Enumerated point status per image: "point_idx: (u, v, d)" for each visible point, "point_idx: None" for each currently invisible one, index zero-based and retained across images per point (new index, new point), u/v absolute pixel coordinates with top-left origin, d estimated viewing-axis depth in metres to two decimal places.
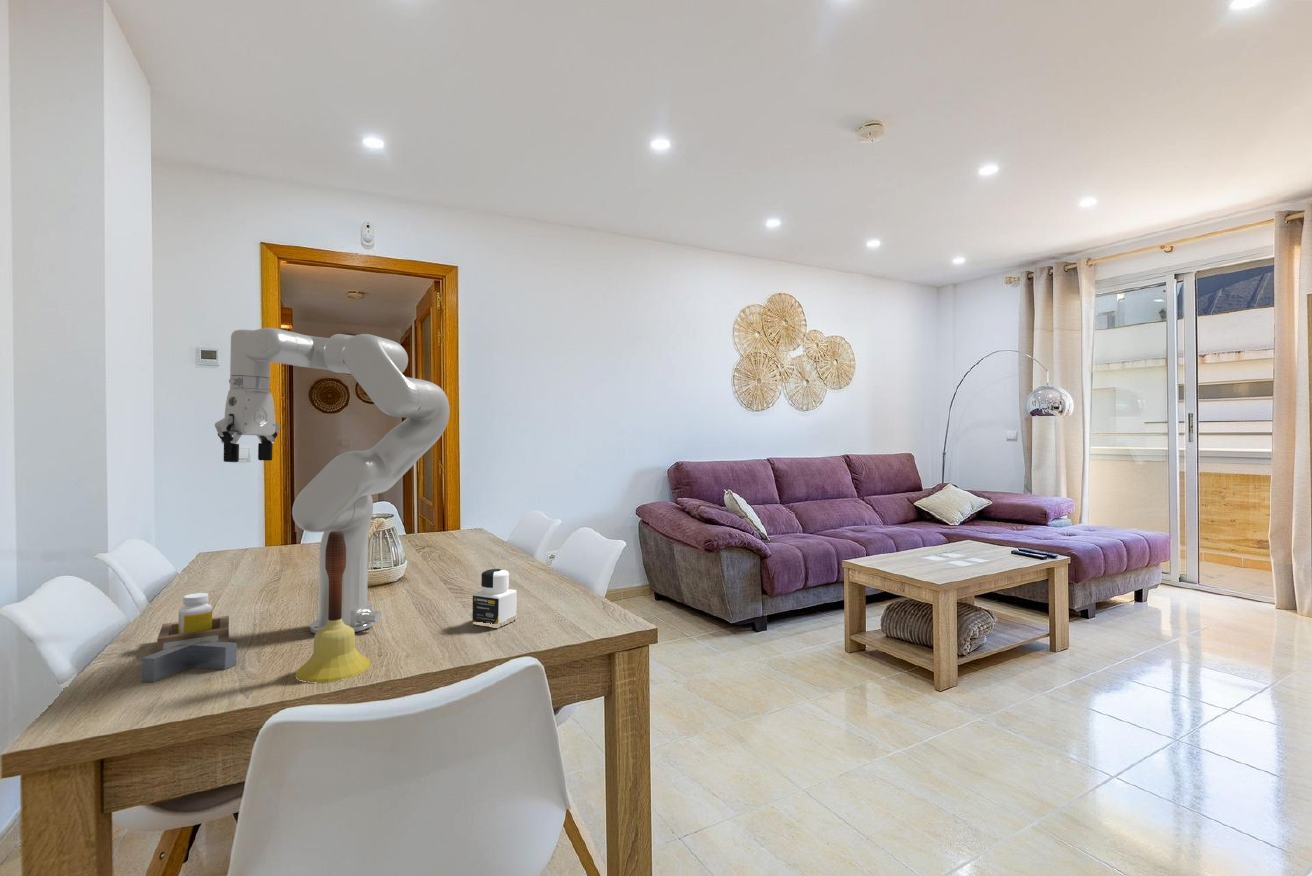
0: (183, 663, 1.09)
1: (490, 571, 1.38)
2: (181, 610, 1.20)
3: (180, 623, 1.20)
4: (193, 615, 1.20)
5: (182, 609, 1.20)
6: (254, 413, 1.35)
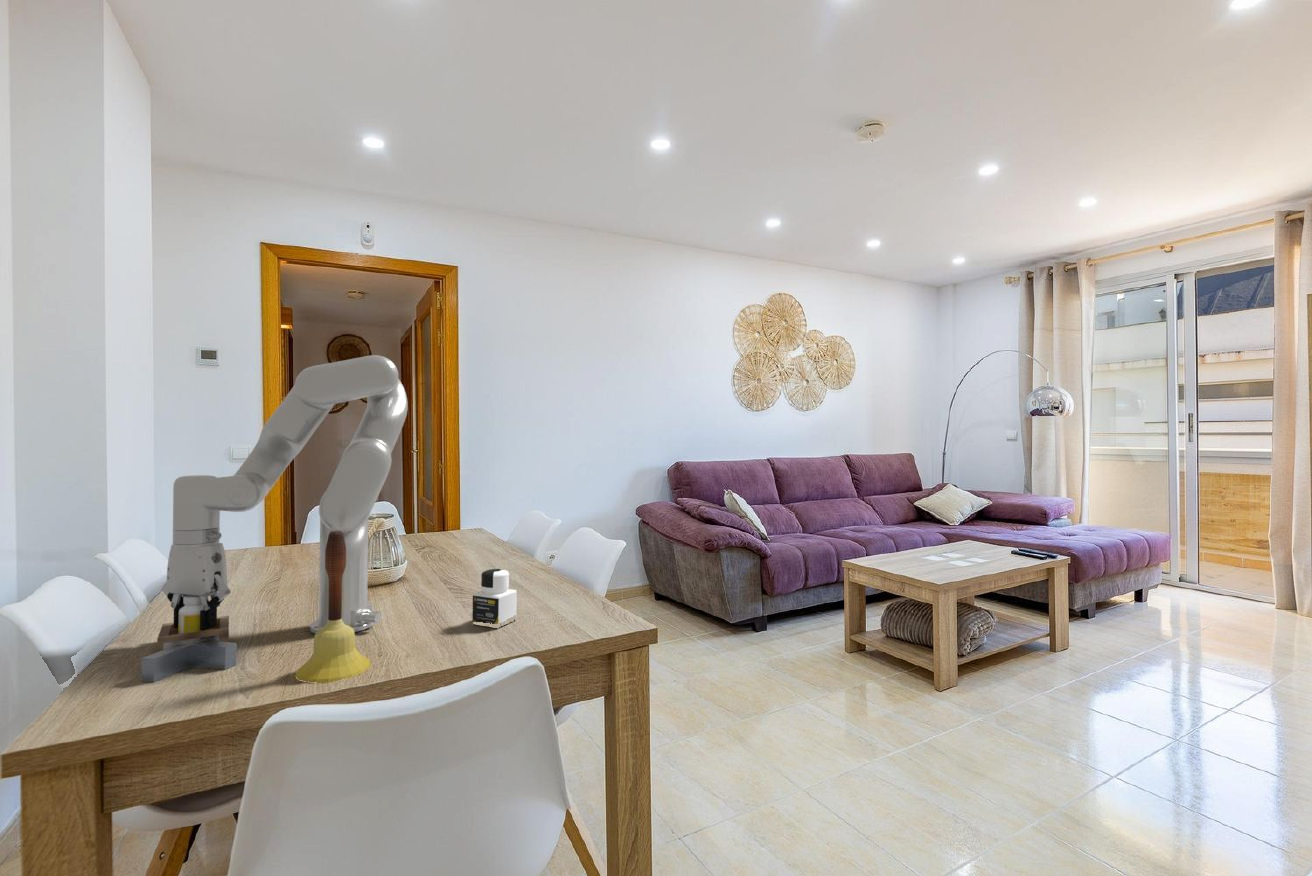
0: (183, 663, 1.09)
1: (490, 571, 1.38)
2: (181, 610, 1.20)
3: (180, 623, 1.20)
4: (193, 615, 1.20)
5: (182, 609, 1.20)
6: None
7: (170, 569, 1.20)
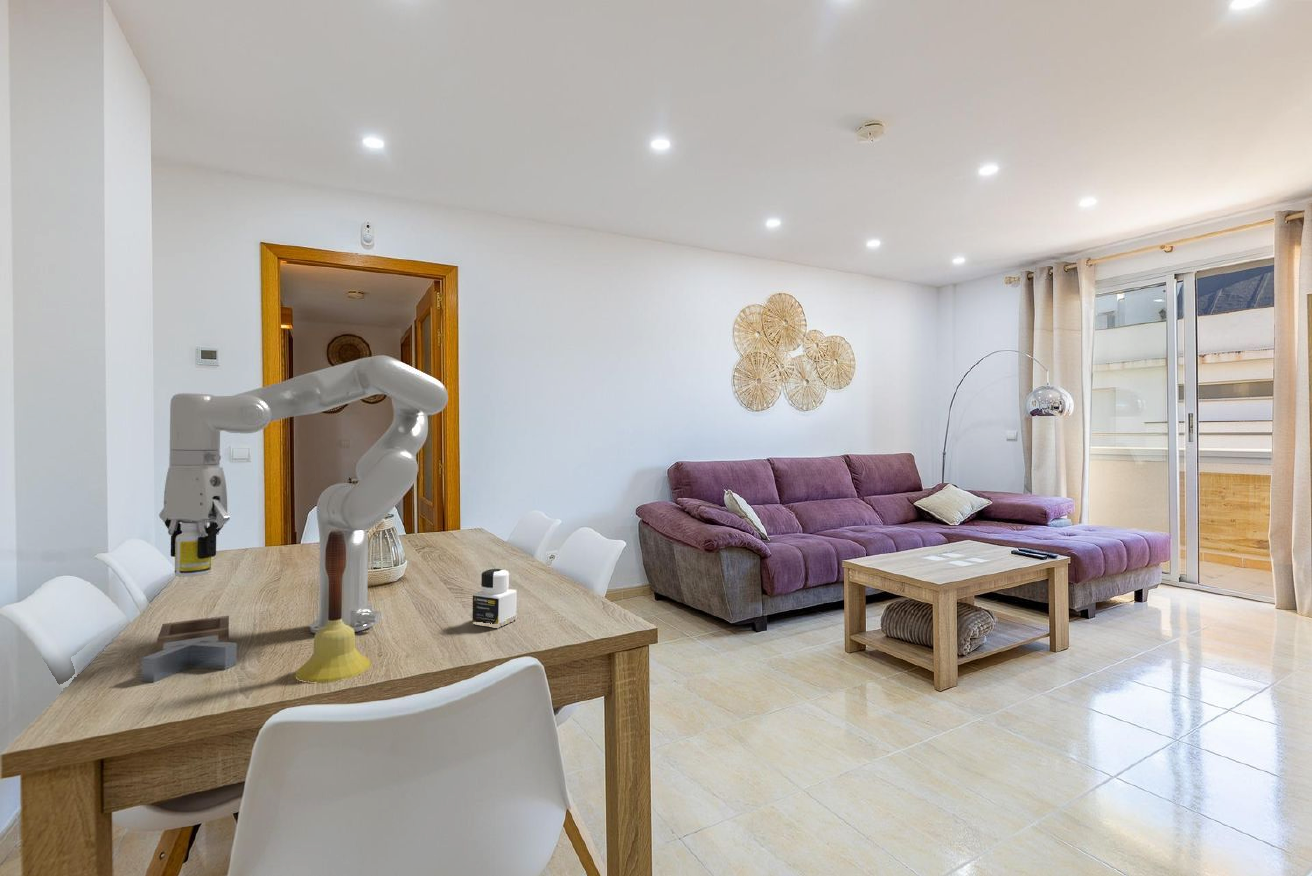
0: (183, 663, 1.09)
1: (490, 571, 1.38)
2: (178, 536, 1.12)
3: (177, 550, 1.12)
4: (190, 542, 1.12)
5: (179, 535, 1.12)
6: None
7: (167, 493, 1.12)
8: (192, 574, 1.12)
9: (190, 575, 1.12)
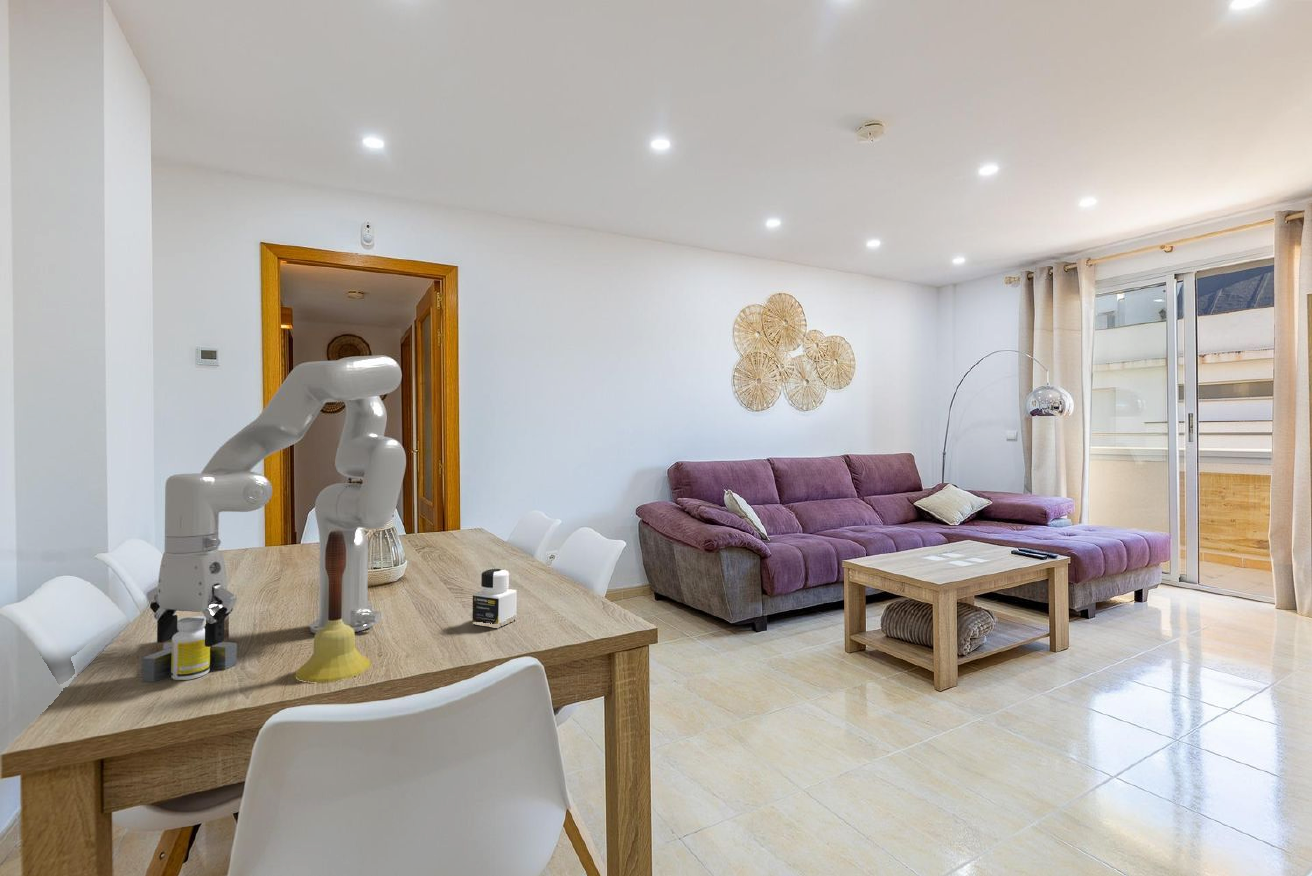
0: None
1: (490, 571, 1.38)
2: (175, 637, 1.04)
3: (173, 652, 1.04)
4: (188, 642, 1.04)
5: (176, 636, 1.05)
6: None
7: (162, 581, 1.05)
8: (190, 677, 1.04)
9: (188, 678, 1.04)
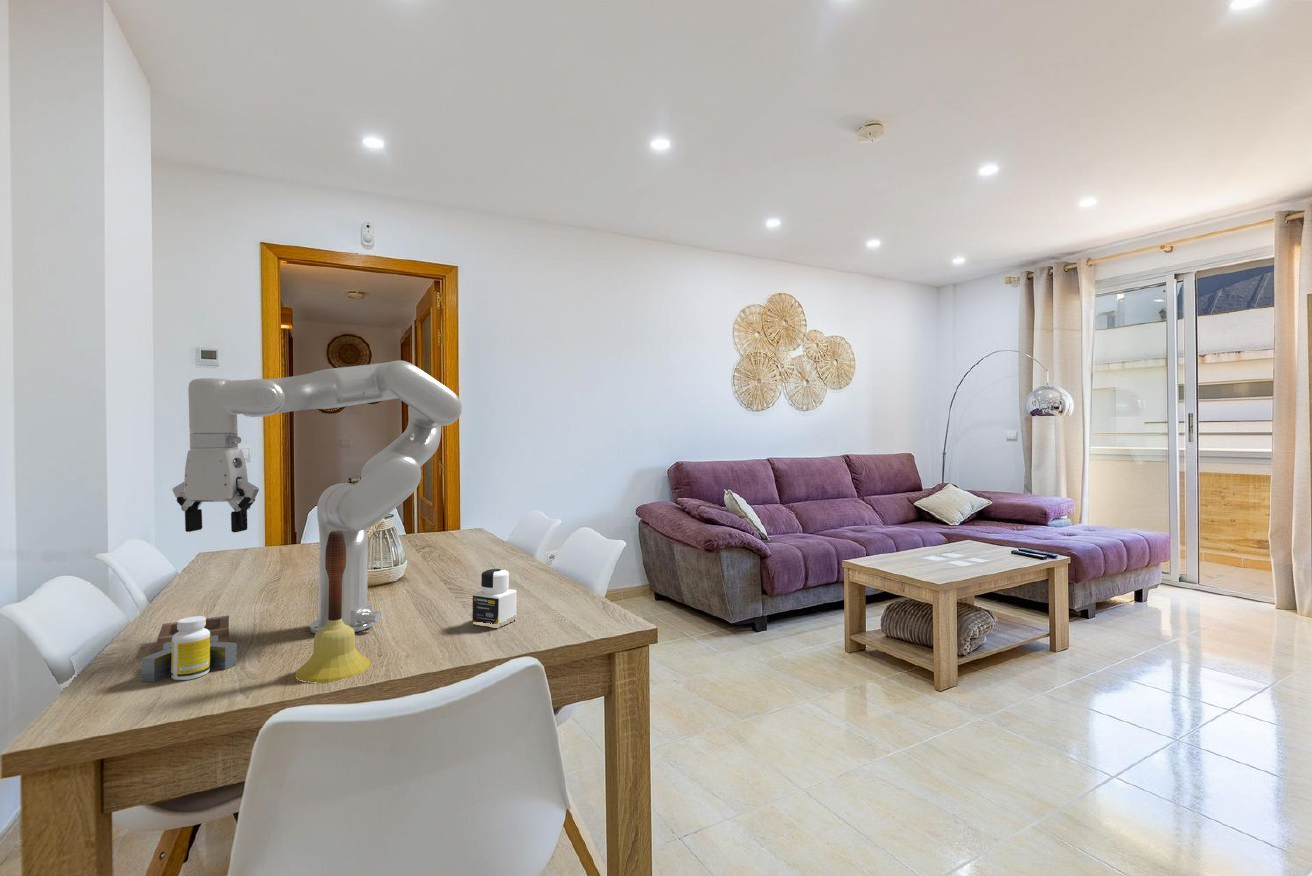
0: None
1: (490, 571, 1.38)
2: (174, 637, 1.04)
3: (173, 652, 1.04)
4: (188, 642, 1.04)
5: (176, 636, 1.05)
6: None
7: (188, 475, 1.16)
8: (190, 677, 1.04)
9: (188, 678, 1.04)
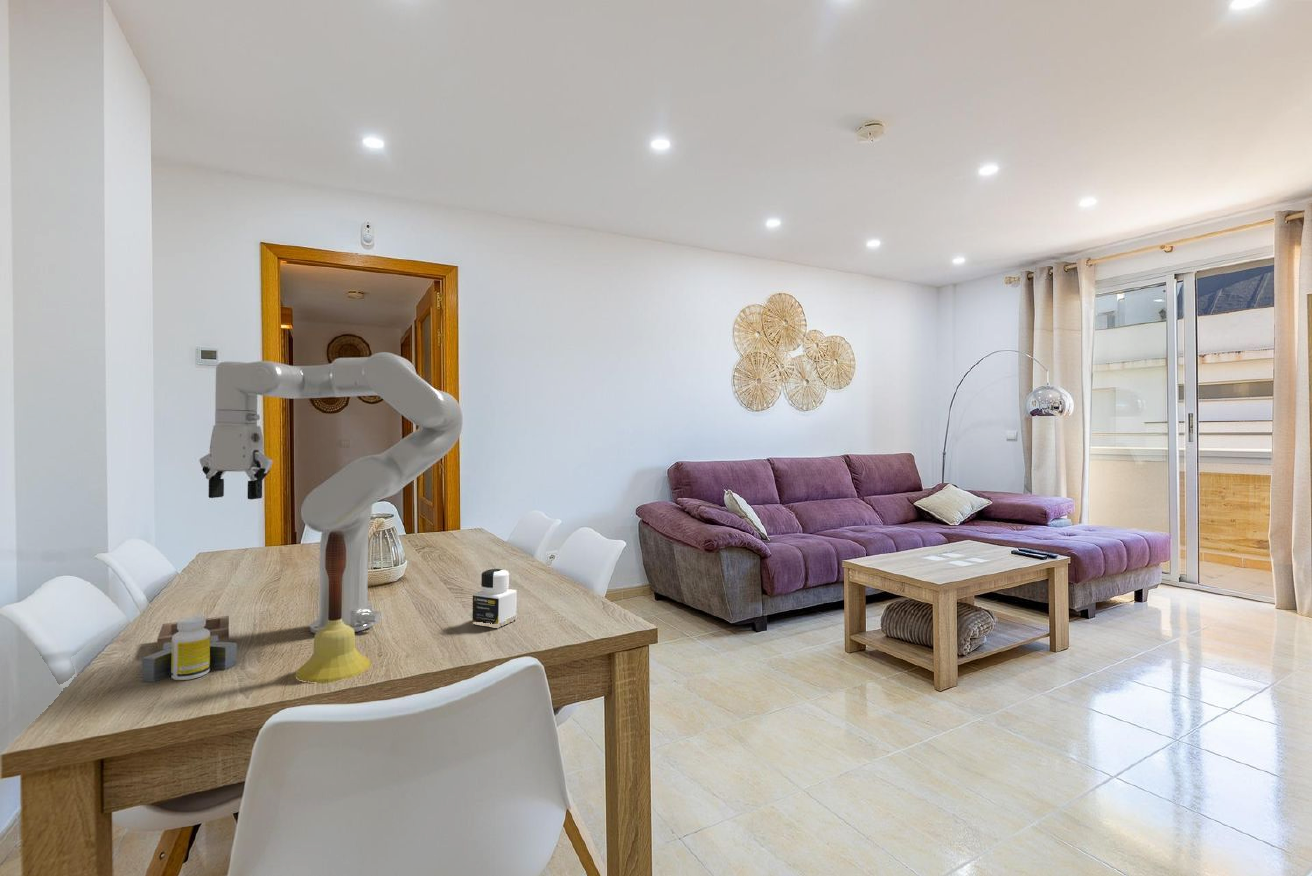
0: None
1: (490, 571, 1.38)
2: (175, 637, 1.04)
3: (173, 652, 1.04)
4: (188, 642, 1.04)
5: (176, 635, 1.05)
6: None
7: (212, 447, 1.30)
8: (190, 677, 1.04)
9: (188, 678, 1.04)
